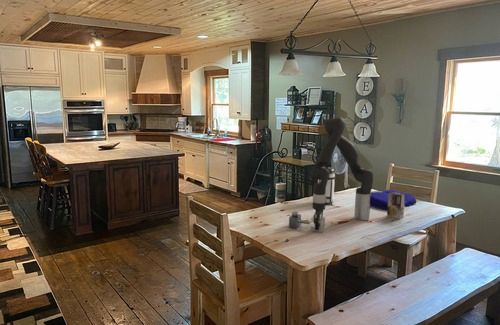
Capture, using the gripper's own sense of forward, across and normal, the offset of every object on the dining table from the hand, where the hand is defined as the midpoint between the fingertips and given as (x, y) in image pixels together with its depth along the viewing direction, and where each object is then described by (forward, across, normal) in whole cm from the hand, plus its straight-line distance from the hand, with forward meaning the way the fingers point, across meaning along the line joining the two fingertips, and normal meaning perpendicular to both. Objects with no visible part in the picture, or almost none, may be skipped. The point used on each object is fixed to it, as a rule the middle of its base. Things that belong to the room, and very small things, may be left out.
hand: (317, 228), depth 224 cm
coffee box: (+2, +50, -40) cm, 64 cm away
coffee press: (+1, +61, +10) cm, 62 cm away
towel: (+2, +82, -34) cm, 89 cm away
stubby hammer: (+1, 0, +11) cm, 11 cm away
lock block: (+1, 0, 0) cm, 1 cm away
